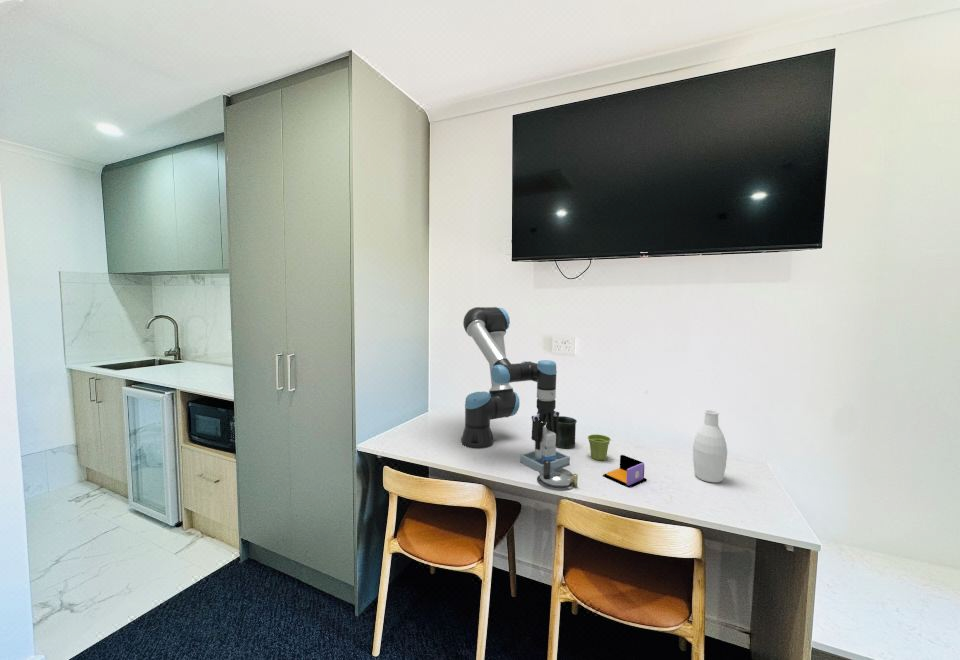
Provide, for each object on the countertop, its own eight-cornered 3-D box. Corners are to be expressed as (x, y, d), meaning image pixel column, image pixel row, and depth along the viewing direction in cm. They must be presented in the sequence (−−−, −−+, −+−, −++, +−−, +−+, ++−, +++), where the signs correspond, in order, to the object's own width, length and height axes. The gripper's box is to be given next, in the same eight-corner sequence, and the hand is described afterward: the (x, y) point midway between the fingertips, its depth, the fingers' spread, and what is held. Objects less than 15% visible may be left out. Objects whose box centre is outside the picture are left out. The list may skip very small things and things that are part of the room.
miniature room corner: (648, 480, 139) (649, 463, 138) (629, 489, 132) (630, 471, 131) (619, 469, 148) (620, 452, 148) (601, 476, 141) (601, 459, 141)
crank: (555, 469, 144) (556, 449, 143) (580, 481, 134) (581, 460, 133) (532, 477, 137) (532, 456, 136) (556, 491, 127) (557, 468, 126)
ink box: (556, 462, 148) (556, 426, 147) (545, 464, 146) (546, 427, 145) (544, 454, 156) (545, 420, 155) (534, 456, 154) (534, 421, 153)
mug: (571, 451, 165) (572, 425, 165) (541, 444, 173) (541, 419, 173) (579, 443, 174) (579, 418, 174) (550, 437, 182) (550, 413, 182)
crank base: (529, 480, 137) (529, 467, 137) (555, 471, 145) (555, 458, 145) (557, 497, 125) (558, 482, 125) (584, 486, 133) (585, 472, 133)
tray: (520, 463, 152) (520, 454, 152) (547, 454, 161) (547, 447, 161) (541, 474, 142) (541, 466, 142) (569, 465, 151) (569, 456, 151)
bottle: (685, 470, 147) (688, 407, 146) (714, 471, 147) (717, 408, 145) (701, 484, 136) (705, 415, 134) (732, 484, 136) (736, 416, 134)
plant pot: (583, 457, 158) (583, 438, 158) (593, 451, 165) (593, 432, 165) (604, 464, 152) (604, 443, 151) (613, 457, 159) (614, 437, 158)
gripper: (535, 404, 141) (534, 463, 143) (569, 397, 152) (567, 453, 153) (522, 400, 147) (521, 457, 149) (555, 394, 158) (554, 447, 160)
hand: (544, 454), depth 151 cm, fingers closed on ink box, 5 cm apart
